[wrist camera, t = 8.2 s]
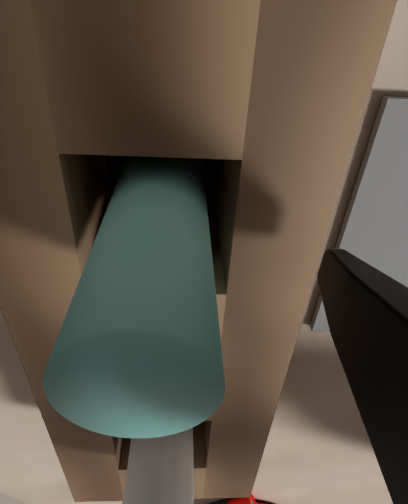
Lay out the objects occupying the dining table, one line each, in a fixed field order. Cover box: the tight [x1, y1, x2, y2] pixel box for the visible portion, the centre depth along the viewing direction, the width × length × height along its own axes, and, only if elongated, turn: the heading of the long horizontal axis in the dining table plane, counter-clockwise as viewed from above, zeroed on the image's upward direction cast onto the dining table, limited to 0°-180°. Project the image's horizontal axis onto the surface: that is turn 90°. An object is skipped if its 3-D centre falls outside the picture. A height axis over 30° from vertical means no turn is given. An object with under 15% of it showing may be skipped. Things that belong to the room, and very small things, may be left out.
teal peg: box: [43, 156, 225, 439], centre depth 10 cm, size 3×3×10 cm
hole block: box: [0, 0, 397, 502], centre depth 15 cm, size 10×24×5 cm, turn 177°
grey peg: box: [123, 428, 194, 504], centre depth 17 cm, size 3×3×10 cm
